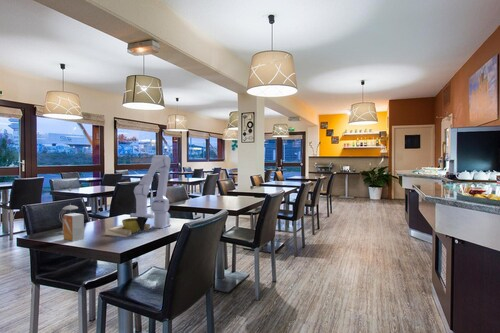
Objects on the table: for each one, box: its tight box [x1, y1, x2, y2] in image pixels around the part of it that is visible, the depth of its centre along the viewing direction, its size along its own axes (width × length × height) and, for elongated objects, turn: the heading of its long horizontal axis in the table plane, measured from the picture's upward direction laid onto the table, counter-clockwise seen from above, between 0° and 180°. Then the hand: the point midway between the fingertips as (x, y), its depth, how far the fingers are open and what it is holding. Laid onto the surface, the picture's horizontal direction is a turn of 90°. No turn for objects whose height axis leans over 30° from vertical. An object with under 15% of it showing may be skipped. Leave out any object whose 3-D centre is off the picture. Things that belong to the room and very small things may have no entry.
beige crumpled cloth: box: [105, 223, 151, 238], centre depth 179 cm, size 20×14×3 cm
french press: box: [58, 188, 79, 235], centre depth 180 cm, size 10×12×25 cm
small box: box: [62, 212, 85, 242], centre depth 163 cm, size 8×6×13 cm
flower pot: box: [121, 217, 139, 234], centre depth 179 cm, size 10×10×7 cm
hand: (141, 230), depth 176 cm, fingers closed
